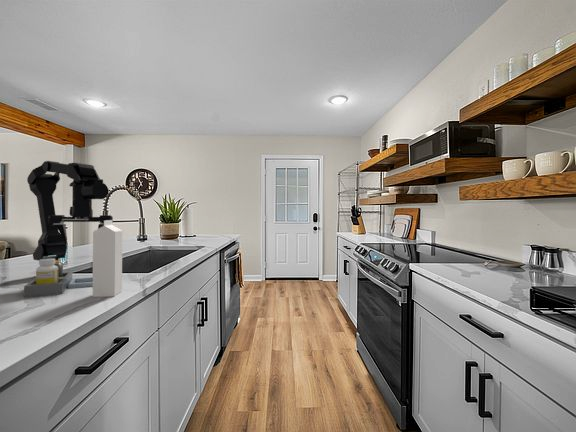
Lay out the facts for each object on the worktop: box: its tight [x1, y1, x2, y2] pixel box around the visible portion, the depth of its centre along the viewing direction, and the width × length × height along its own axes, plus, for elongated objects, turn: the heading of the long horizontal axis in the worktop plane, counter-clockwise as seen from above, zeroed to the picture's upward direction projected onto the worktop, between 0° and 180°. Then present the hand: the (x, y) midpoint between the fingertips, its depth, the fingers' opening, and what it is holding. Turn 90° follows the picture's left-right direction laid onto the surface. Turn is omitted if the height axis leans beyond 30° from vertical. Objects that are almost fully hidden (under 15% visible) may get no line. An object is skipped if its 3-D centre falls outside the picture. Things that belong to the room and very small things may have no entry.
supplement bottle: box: [35, 258, 58, 285], centre depth 97 cm, size 5×5×10 cm
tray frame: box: [67, 276, 93, 289], centre depth 108 cm, size 10×10×1 cm
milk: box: [92, 220, 123, 298], centre depth 95 cm, size 6×6×22 cm
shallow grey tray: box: [23, 259, 73, 298], centre depth 101 cm, size 20×9×8 cm, turn 27°
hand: (82, 243), depth 112 cm, fingers open, 9 cm apart
